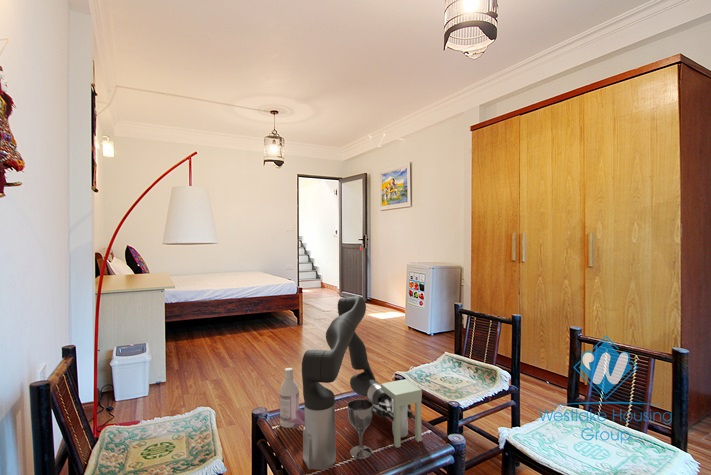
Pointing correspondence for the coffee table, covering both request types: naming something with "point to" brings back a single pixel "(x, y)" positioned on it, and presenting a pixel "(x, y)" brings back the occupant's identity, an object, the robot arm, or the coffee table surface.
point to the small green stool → (404, 395)
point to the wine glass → (360, 424)
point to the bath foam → (288, 399)
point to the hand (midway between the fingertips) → (403, 417)
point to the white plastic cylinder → (402, 420)
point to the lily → (298, 419)
